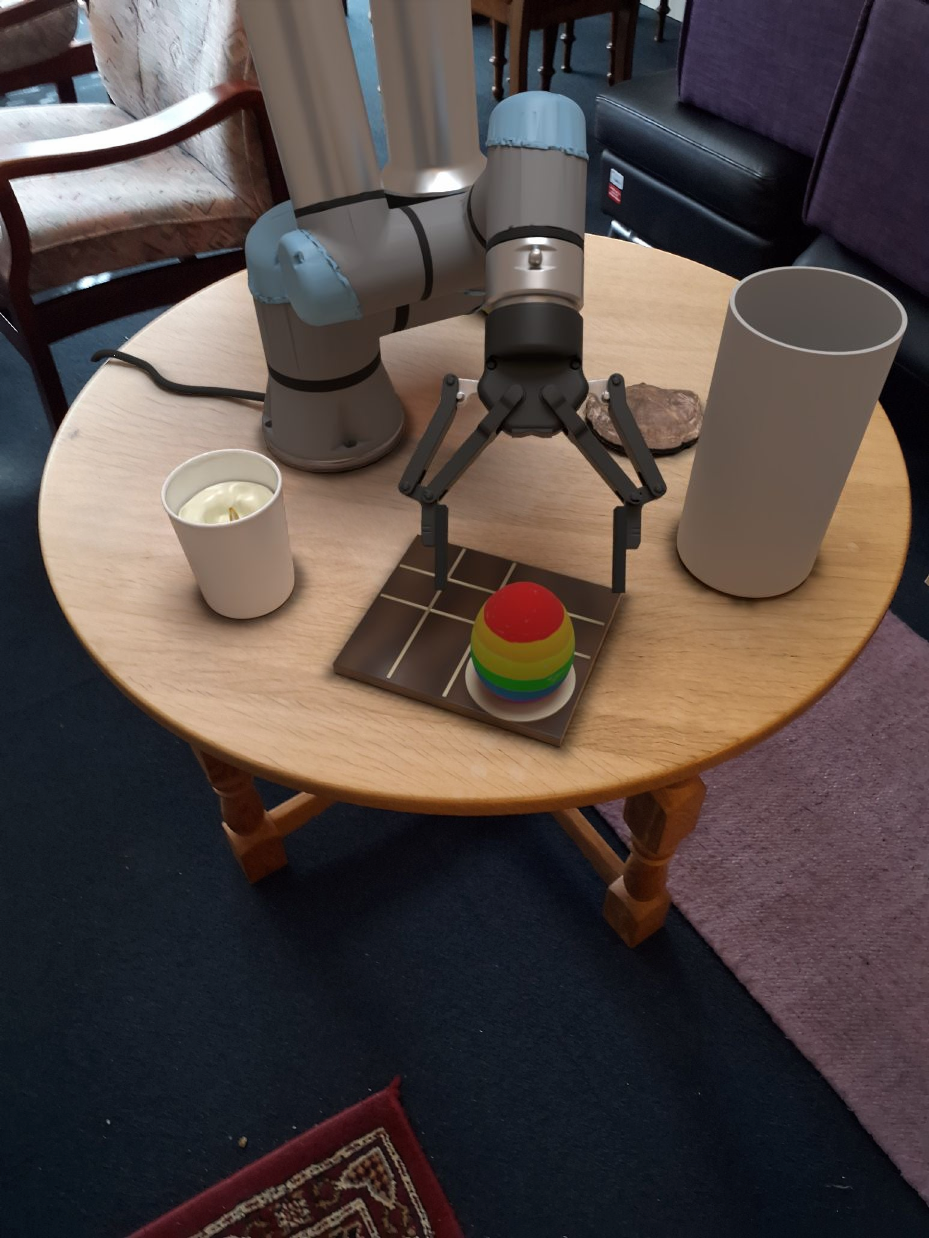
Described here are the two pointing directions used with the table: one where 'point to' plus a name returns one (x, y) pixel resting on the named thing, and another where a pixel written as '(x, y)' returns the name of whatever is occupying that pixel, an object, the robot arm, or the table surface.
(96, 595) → the table surface
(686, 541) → the cylinder vase
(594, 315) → the table surface
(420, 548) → the board
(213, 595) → the candle holder
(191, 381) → the table surface
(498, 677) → the decorative egg
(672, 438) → the shell
